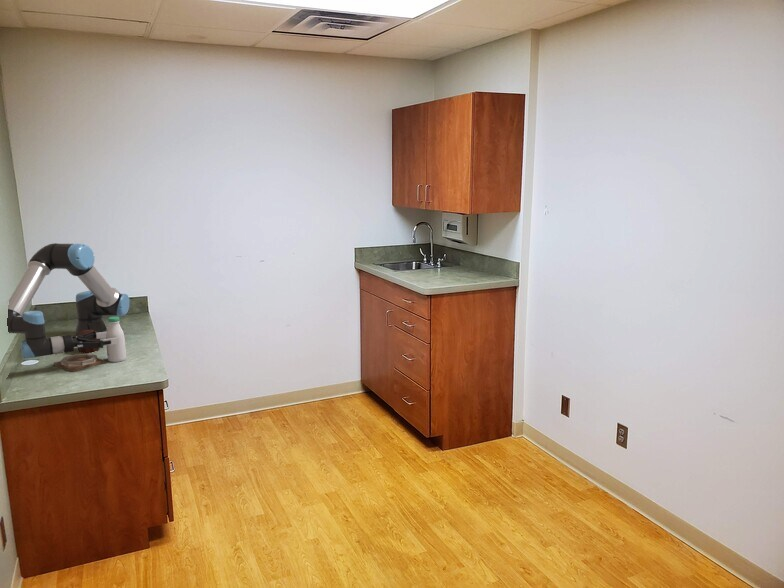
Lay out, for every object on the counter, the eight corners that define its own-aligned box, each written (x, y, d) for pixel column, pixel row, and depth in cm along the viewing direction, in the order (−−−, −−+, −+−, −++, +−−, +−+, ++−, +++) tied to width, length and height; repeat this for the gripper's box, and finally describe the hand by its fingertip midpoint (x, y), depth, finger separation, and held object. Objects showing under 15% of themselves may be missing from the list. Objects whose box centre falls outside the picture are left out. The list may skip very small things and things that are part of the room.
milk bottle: (130, 358, 280) (126, 316, 276) (117, 363, 273) (114, 320, 269) (116, 356, 282) (113, 314, 278) (104, 361, 275) (100, 318, 271)
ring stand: (86, 357, 281) (86, 351, 281) (105, 362, 273) (104, 356, 273) (53, 365, 269) (53, 359, 268) (72, 371, 261) (71, 365, 260)
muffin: (103, 352, 289) (101, 331, 287) (77, 355, 284) (75, 334, 282) (100, 346, 299) (98, 326, 297) (75, 349, 294) (73, 329, 292)
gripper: (59, 346, 274) (109, 338, 286) (68, 360, 254) (122, 351, 266) (57, 329, 272) (108, 323, 284) (66, 342, 252) (120, 335, 265)
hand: (115, 337), depth 275 cm, fingers open, 13 cm apart
